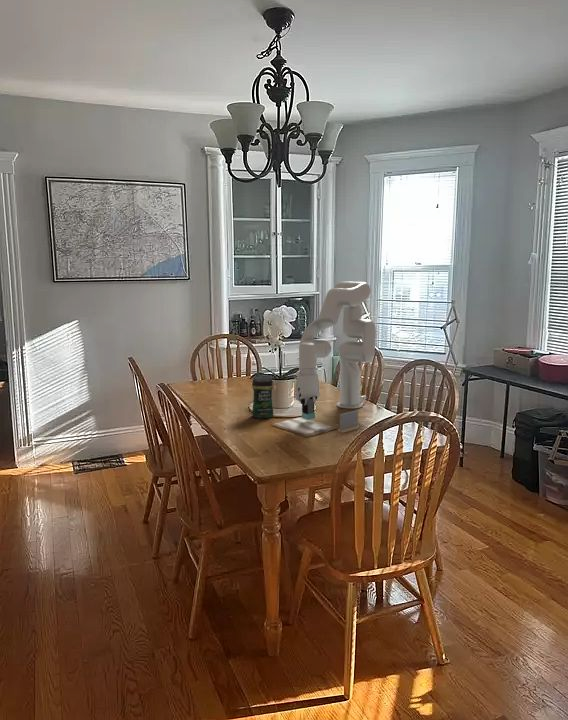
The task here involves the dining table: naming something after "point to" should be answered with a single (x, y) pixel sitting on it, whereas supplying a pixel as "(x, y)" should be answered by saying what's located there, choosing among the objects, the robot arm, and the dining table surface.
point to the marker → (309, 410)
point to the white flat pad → (304, 427)
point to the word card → (348, 421)
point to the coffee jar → (262, 397)
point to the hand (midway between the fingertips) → (308, 412)
